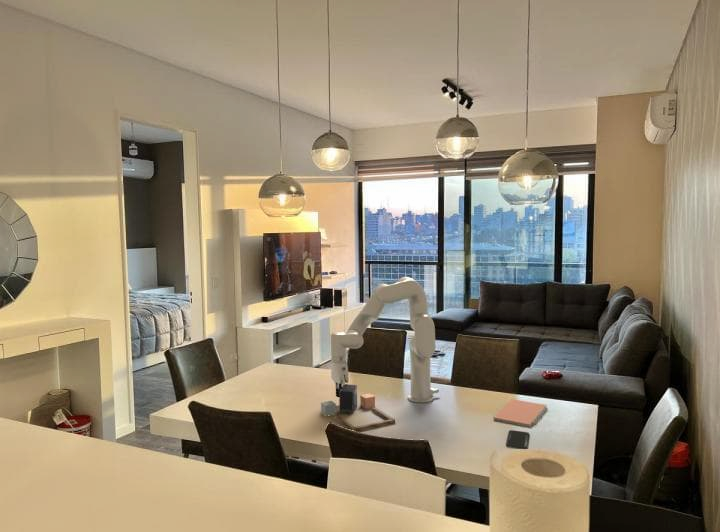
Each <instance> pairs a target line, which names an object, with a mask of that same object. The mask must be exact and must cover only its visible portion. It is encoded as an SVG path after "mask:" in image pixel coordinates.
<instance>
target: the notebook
mask: <svg viewBox="0 0 720 532" xmlns="http://www.w3.org/2000/svg"><path fill="white" fill-rule="evenodd" d="M547 410H548V406H547V404H542V403H538V402H537V403H536V402H532V401H525V400H519V399H511V400H510V401H509V402H507V403H506V404H505V405H504V406H503V407H502V408H500V410H499V411H497V413H495V414H494V415H493V416H492V418H493V421H498V422H503V423H506V424H507V423H509V424H513V425H517V426H522V427H523V426H524V427H528V428H532V426H535V425H536V424H537V423H538V421H539V420H540V419H541V418H542V417H543V416H544V415H545V413H546V412H547Z"/></svg>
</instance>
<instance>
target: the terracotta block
mask: <svg viewBox="0 0 720 532" xmlns="http://www.w3.org/2000/svg"><path fill="white" fill-rule="evenodd" d="M359 396H360V397H359V398H360V406H361V407H362V406H363V408H364V409H365V408H367V409H371V408H370V407H372V408H376V396H375V395H373V394H371V393H366V394H365V393H364V394H360V395H359Z"/></svg>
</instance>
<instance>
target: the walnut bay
mask: <svg viewBox="0 0 720 532" xmlns="http://www.w3.org/2000/svg"><path fill="white" fill-rule="evenodd" d="M371 411H372V412H373V413H374V412H375V415H378V416H379V417H380V418H383V419H384V420H381V421H376V422H372V423H367V424H363V425H358V426H354V425H353V424H352V423H350V422H348V421H347V420H346V419H344V418H343V417H342V416H341V415H339V414H336V415H334V419H335V420H336V421H337V422H338V423H340V424H342V425H343V426H344V427H345V428H347V430H349V429H351V430H354V431H358V432H361V431H366V430H370V429H376V428H380V427H385V426H389V425H394V424H396V419H395V418H393V417H391V416H390V415H388V414H386V413H385V412H383V411H382V410H380V409H379V408H377V407H372V408H371ZM351 430H350V431H351Z"/></svg>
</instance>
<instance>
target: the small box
mask: <svg viewBox="0 0 720 532" xmlns="http://www.w3.org/2000/svg"><path fill="white" fill-rule="evenodd" d="M338 398H339V399H338V400H339V401H338V403H339V406H338V407H339V411H338V412H339V414H346V415H348V414H349V415H353V413H354V412H355V410H356V409H357V407H358V385H357V384H349V383H345V385H344V386H343V387H342V388H341V389H340V391H339V397H338Z"/></svg>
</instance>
